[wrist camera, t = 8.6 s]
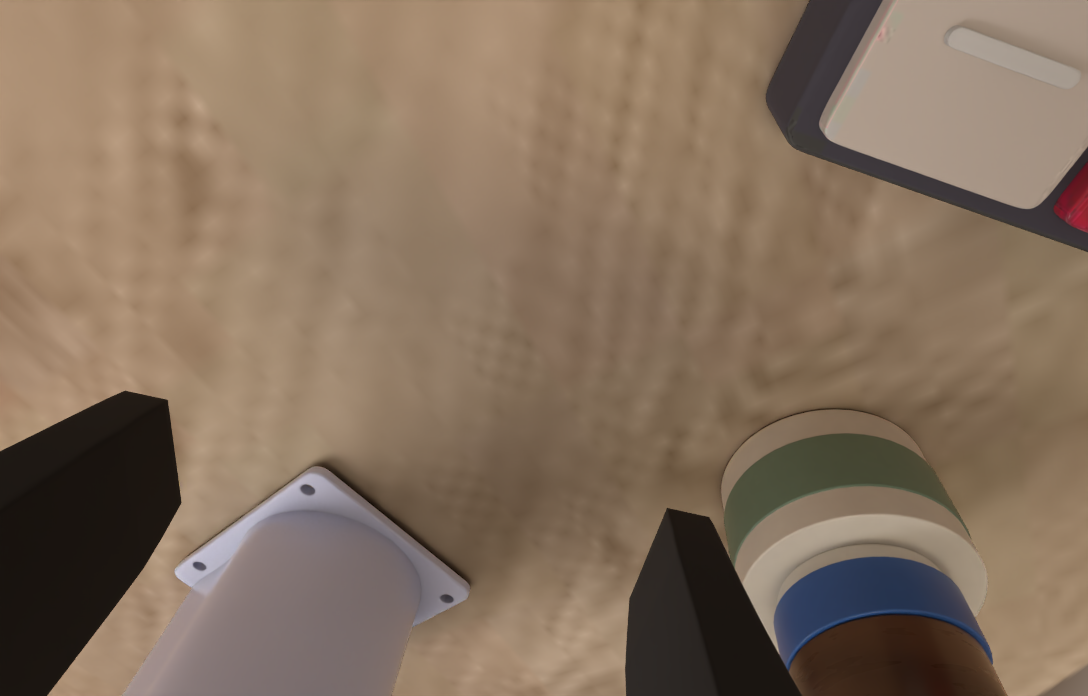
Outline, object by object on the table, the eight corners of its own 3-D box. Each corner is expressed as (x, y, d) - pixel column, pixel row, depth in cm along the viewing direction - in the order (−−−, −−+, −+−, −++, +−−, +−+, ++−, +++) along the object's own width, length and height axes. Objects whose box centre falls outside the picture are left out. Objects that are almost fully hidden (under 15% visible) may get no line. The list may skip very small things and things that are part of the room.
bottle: (784, 579, 25) (830, 768, 19) (680, 469, 23) (699, 648, 17) (963, 503, 22) (1077, 699, 17) (865, 371, 20) (960, 545, 14)
